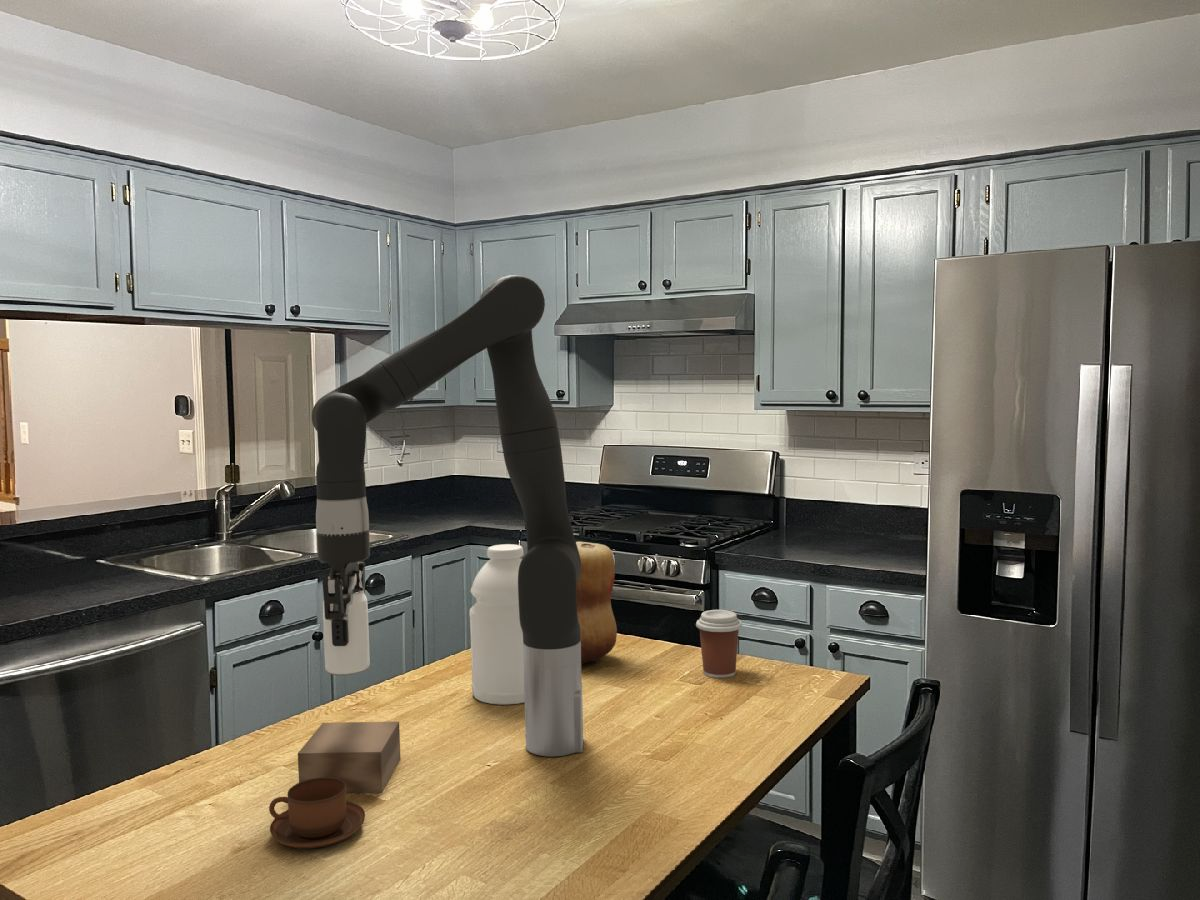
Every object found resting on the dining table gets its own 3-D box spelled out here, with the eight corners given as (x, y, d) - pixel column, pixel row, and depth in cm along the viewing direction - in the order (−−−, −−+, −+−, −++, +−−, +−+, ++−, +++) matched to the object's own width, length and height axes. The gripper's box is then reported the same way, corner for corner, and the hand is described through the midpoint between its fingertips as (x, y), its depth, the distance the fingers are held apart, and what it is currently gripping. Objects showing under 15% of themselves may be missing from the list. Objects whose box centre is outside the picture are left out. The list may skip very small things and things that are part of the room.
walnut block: (400, 758, 147) (399, 721, 146) (382, 792, 135) (380, 752, 134) (324, 759, 147) (322, 722, 146) (299, 793, 135) (297, 753, 134)
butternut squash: (618, 671, 189) (616, 548, 187) (552, 672, 188) (549, 550, 186) (616, 651, 202) (614, 537, 200) (554, 652, 202) (551, 538, 200)
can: (357, 677, 136) (354, 596, 135) (317, 675, 137) (313, 594, 136) (377, 663, 142) (374, 586, 141) (338, 661, 143) (334, 584, 142)
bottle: (560, 688, 179) (557, 543, 176) (516, 711, 167) (512, 556, 165) (502, 677, 186) (498, 538, 184) (456, 697, 174) (451, 549, 172)
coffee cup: (745, 680, 182) (745, 619, 181) (698, 680, 182) (698, 620, 181) (739, 665, 191) (738, 607, 190) (694, 666, 191) (693, 608, 190)
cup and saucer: (274, 865, 115) (272, 817, 115) (267, 824, 126) (265, 780, 126) (372, 844, 120) (371, 798, 119) (357, 806, 131) (356, 763, 130)
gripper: (355, 535, 131) (359, 652, 132) (380, 520, 145) (383, 625, 146) (301, 536, 131) (306, 653, 132) (331, 521, 145) (336, 626, 146)
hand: (347, 638), depth 139 cm, fingers closed on can, 6 cm apart
